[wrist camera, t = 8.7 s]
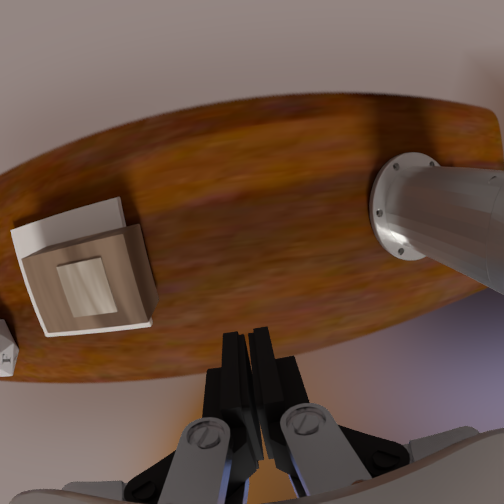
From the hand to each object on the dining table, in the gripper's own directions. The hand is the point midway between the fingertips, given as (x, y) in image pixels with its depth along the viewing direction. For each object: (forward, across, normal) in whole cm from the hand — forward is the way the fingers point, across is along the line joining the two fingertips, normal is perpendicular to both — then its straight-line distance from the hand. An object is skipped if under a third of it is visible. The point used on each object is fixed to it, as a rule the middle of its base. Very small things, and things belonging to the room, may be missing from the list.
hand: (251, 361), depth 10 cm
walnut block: (+15, +9, 0) cm, 18 cm away
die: (+18, +37, +7) cm, 41 cm away
